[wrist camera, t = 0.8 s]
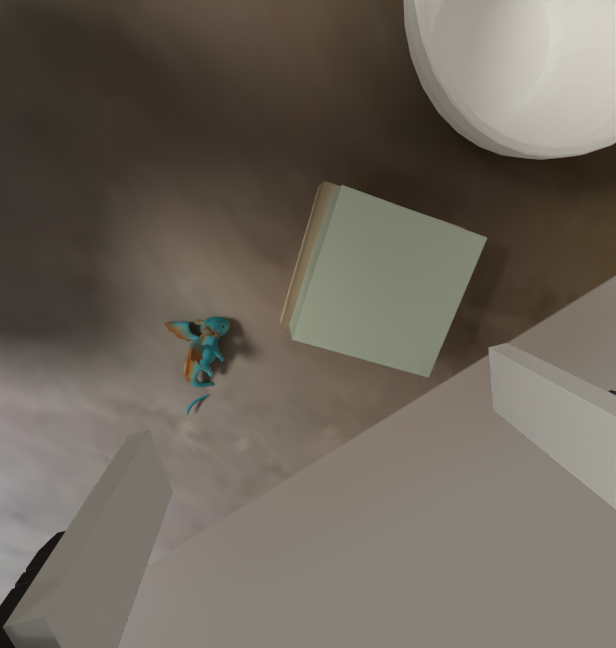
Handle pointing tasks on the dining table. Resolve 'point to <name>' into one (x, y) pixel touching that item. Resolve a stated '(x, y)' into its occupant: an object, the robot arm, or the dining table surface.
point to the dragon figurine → (201, 348)
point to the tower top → (383, 282)
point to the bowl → (519, 72)
